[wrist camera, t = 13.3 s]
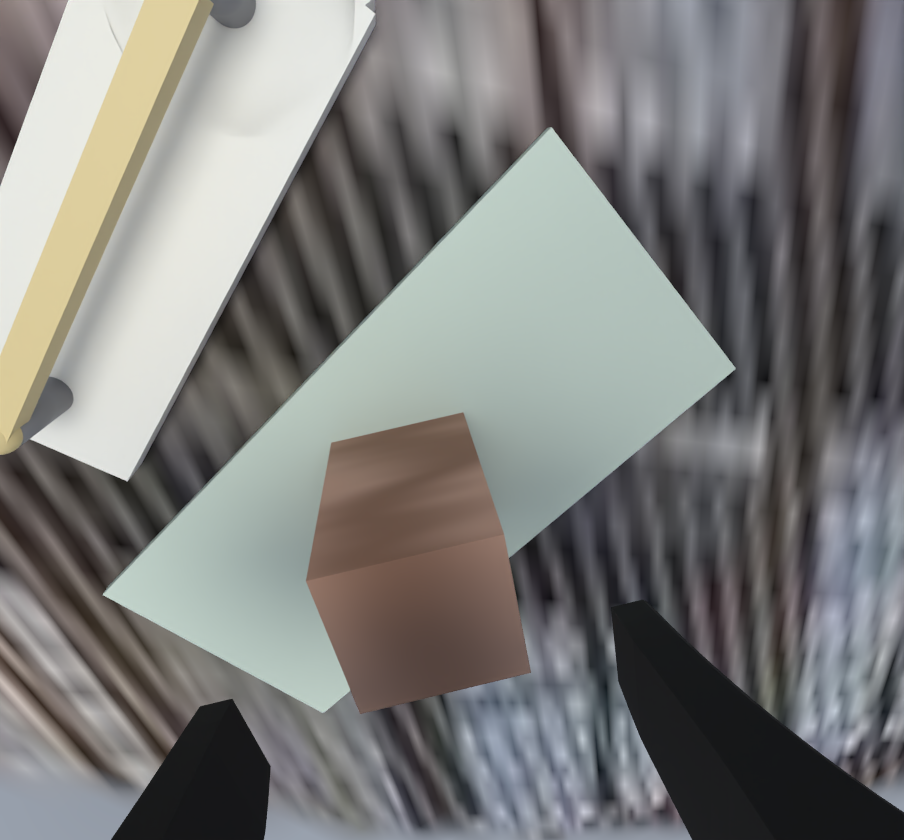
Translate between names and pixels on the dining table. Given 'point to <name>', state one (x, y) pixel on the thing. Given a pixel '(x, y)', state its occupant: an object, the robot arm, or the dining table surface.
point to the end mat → (442, 410)
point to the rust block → (414, 566)
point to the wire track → (149, 202)
